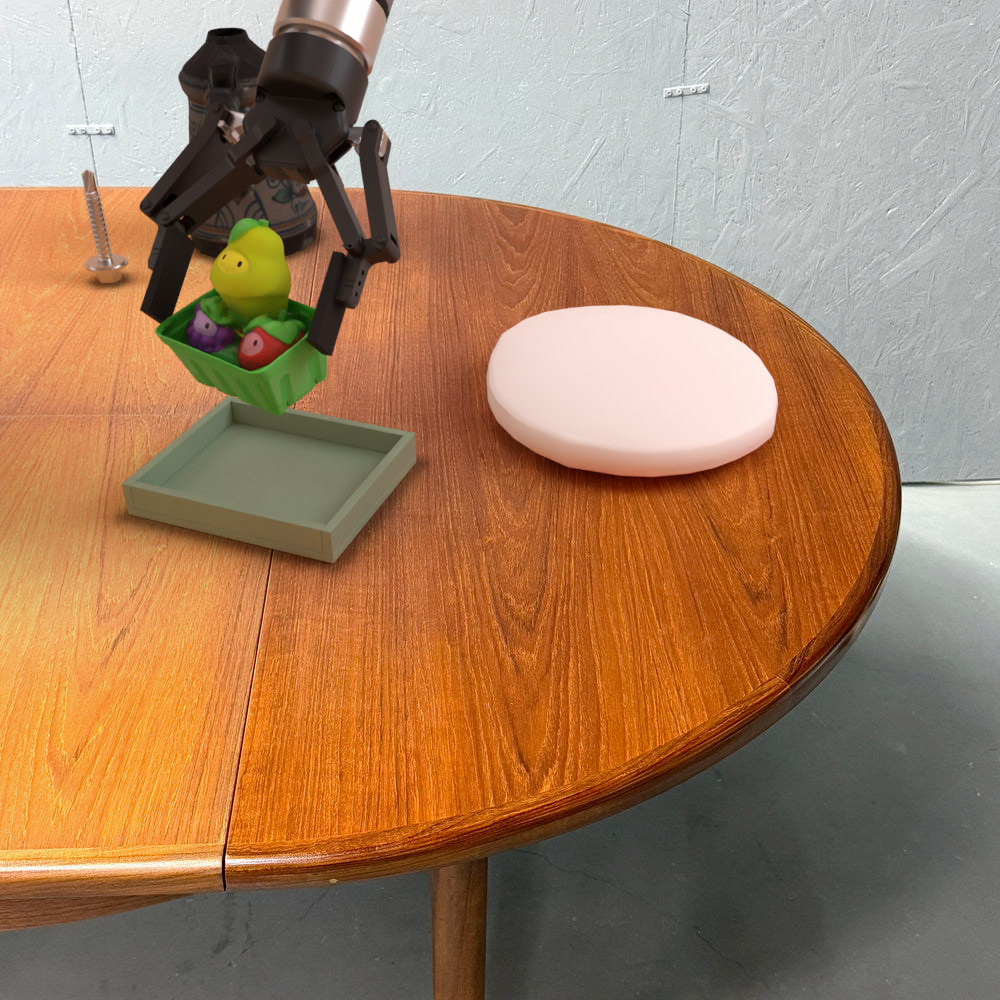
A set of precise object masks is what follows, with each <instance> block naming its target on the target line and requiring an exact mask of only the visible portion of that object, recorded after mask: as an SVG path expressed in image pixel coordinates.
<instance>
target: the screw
mask: <svg viewBox="0 0 1000 1000" xmlns="http://www.w3.org/2000/svg"><path fill="white" fill-rule="evenodd" d="M81 178H82V184H83V189H84V191H85V192H84V193H83V195H85V198H84V201H85V202H86V203H85V204H84V206H86V207H87V208H86V211H87V212H88V213H87V216H89V219H88V221H90V224H89V226H91V229H90V231H92V234H91V236H93V239H92V240H93V241H94V244H93V246H95V249H94V251H96V254H95V255H94V256H91V257H90V258H88V259H87V260H86V262H85V263H84V268H85V270H86V271H88V272H89V273H94V274H95V275H96V278H97V280H98V281H99V283H100V284H115V283H117V282H119V281H121V280H122V279H123V278H122V273H121V271H122V270H123V269H125V268H126V267H128V266H129V259H128V258H127V257H126V256H124V255H122V254H119V253H113V248H111V247H112V244H111V239H110V238H109V237H110V234H109V233H108V232H109V229H108V228H107V227H108V224H107V219H106V218H105V217H106V214H105V213H104V212H105V209H104V208H103V207H104V204H103V203H102V201H103V199H102V198H101V194H100V193H99V190H98V187H97V182H96V178H95V172H94V171H91V170H89V169H85V170H84V171H83V172H81Z"/></svg>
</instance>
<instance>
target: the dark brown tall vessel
mask: <svg viewBox="0 0 1000 1000" xmlns="http://www.w3.org/2000/svg"><path fill="white" fill-rule="evenodd" d="M265 53H266V50H264V49H263V48H262V47H260V46H258V44H256V43H255V42H254V41H253V40H252V39H251V38H250V36H249V34H248V32H247V29H244V28H242V27H219V28H213V29H210V30H208V31H207V34H206V38H205V42H204V43H203V44H202V45H201V46H200V47H199V48H198V49H197V51H196V52H194V54H193V55H192V56H191V57H190V58H189V59H188V60H186V62H185V63H184V64H183V66H182V68H181V69H180V71H179V73H178V76H177V78H178V83H179V86H180V87H181V91H182V92H183V93H184V94H185V95H186V97H187V103H188V143H189V142H190V141H191V140H192V139H193V137H194V136H195V135H196V134H197V133H198V131H199V130H200V129H201V128H202V125H203V123H204V120H205V118H206V116H207V113H208V111H209V108H210V107H211V105H212V104H213V103H215V102H222V103H223V104H224V105H225V106H226V108H227V109H228V110H230V111H235V112H239V113H244V114H246V113H247V112H248V110H249V109H250V108H251V107H252V106H253V104H254V102H255V99H256V85H257V78H258V75H259V72H260V69H261V66H262V63H263V59H264V56H265ZM244 136H245V133H243V134H241V135H240V136H239V138H240V139H241V138H243V137H244ZM233 145H234V143H233ZM233 145H232V146H233ZM226 157H227V155H226V156H225V158H226ZM225 158H224V159H225ZM224 159H223V160H224ZM223 160H222V161H223ZM246 160H247V162H248V163H249V164H251V165H253V164H255V161H254V159H253V156H252V154H251V155H250V156H249V157H248V158H247V159H246ZM318 214H319V213H318V207H317V203H316V201H315V200H314V198H313V197H312V193H311V192H310V189H309V187H308V184H302V183H298V182H296V181H294V180H292V179H290V180H282V181H280V180H272V179H271V178H270V177H269V176H268V177H267V178H265V179H264V180H263V181H262V182H260V183H259V184H257V185H250V186H248V187H247V188H246V189H245V190H244V191H242V192H241V193H240V194H239V195H237V196H236V197H235V198H234V199H233V200H231V201H230V202H229V203H228V204H227V205H225V206H224V207H223V208H222V209H220V210H219V211H218V212H217V213H216V214H214V215H213V216H212V217H211V218H209V219H208V220H207V221H206V222H205V223H203V224H202V225H201V226H200V227H199V228H197V229H196V230H195V231H194V232H192V233H191V234H190V235H189V236H190V238H191V240H193V241H194V242H195V243H196V245H195V248H194V249H196V250H197V251H198V252H199V253H200V254H202V255H204V256H205V255H206V256H209V257H211V258H213V259H217V257H218V256H219V254H220V253H221V252H222V251H223V250H224V249H225V248H226V247H227V246H228V239H229V237H230V234H231V231H232V229H233V227H234V226H235V225H236V224H237V222H238V221H240V220H242V219H245V218H251V219H254V220H256V221H259V219H264V220H267V221H268V222H269V224H268V228H270V229H271V230H273V231H274V232H275V233H276V234H278V235H279V236H280V238H281V240H282V242H283V246H284V255H285V257H287V256H290V255H292V254H294V253H297V252H299V251H302V250H304V249H306V248H307V247H309V246H310V245H311V244H313V243H314V241H315V239H316V236H317V235H316V234H317V223H318V216H319V215H318Z"/></svg>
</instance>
